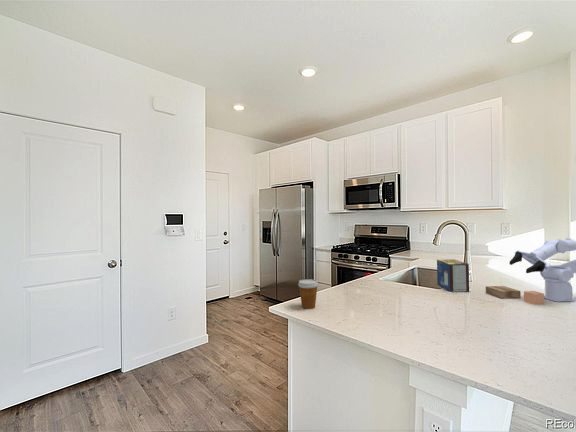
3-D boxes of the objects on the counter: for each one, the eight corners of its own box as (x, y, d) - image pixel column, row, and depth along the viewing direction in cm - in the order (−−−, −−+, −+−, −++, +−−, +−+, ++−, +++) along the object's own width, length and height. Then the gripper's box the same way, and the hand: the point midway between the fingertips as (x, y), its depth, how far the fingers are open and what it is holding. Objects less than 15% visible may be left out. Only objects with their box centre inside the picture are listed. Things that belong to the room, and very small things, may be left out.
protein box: (455, 285, 162) (454, 259, 162) (469, 292, 147) (469, 263, 147) (436, 284, 163) (436, 259, 163) (449, 292, 148) (449, 263, 148)
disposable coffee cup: (295, 308, 125) (294, 282, 125) (303, 302, 134) (303, 278, 134) (314, 311, 121) (313, 284, 121) (321, 305, 129) (321, 280, 129)
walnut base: (503, 293, 145) (503, 285, 145) (520, 299, 135) (520, 291, 135) (485, 293, 144) (485, 286, 144) (501, 299, 134) (501, 291, 134)
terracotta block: (534, 301, 130) (533, 290, 130) (544, 304, 125) (544, 293, 125) (524, 301, 130) (523, 291, 130) (533, 304, 125) (533, 294, 125)
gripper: (525, 241, 136) (503, 253, 135) (559, 255, 123) (535, 269, 122) (524, 252, 139) (503, 264, 138) (557, 267, 126) (534, 280, 125)
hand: (518, 267), depth 130 cm, fingers open, 7 cm apart
